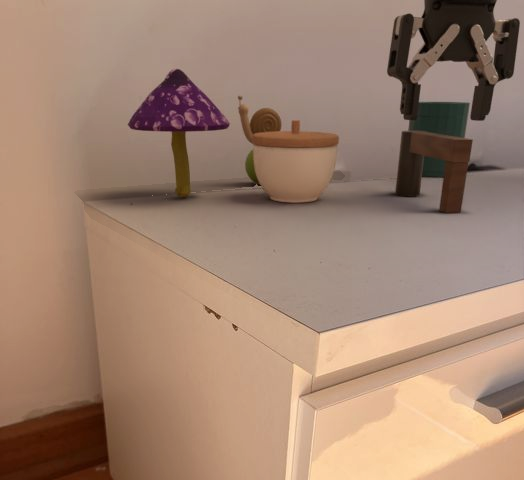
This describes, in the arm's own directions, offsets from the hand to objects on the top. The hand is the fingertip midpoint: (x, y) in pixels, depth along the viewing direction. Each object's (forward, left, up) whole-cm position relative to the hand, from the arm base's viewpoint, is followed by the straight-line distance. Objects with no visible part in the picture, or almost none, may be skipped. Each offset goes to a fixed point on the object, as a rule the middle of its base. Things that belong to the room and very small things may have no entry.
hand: (444, 120), depth 66 cm
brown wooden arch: (0, -2, -10) cm, 10 cm away
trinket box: (+16, -7, -10) cm, 20 cm away
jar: (-13, -27, -10) cm, 31 cm away
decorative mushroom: (+30, -10, -10) cm, 33 cm away
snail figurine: (+18, -19, -10) cm, 28 cm away
